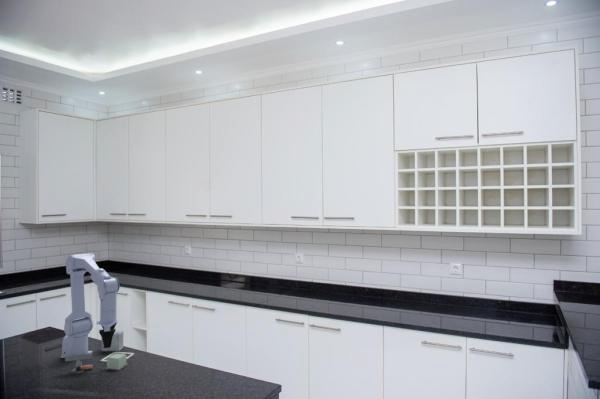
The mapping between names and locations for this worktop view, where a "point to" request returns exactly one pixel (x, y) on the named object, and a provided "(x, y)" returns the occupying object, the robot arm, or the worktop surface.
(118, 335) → the medicine box
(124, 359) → the cover
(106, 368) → the lock plate
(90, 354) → the tee key
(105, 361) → the tray
